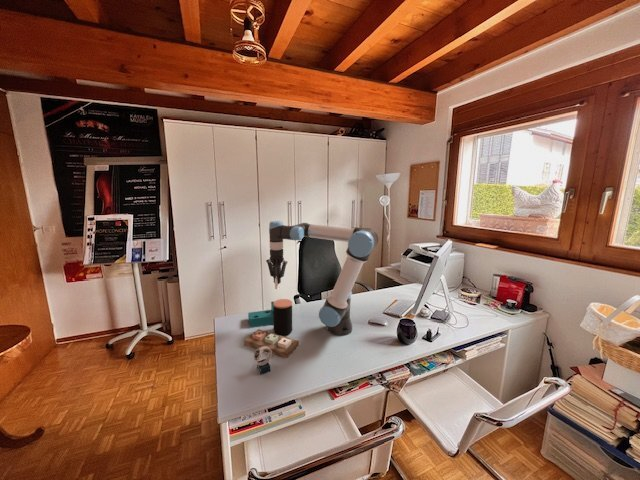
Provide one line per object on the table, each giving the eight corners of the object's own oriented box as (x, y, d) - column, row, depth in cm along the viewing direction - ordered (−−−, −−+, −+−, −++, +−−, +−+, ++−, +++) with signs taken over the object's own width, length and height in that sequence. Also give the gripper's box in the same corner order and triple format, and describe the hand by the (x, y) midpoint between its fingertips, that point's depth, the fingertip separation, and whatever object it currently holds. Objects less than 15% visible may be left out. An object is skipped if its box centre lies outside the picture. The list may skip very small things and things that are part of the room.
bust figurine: (252, 369, 119) (252, 347, 117) (269, 363, 124) (269, 342, 122) (257, 376, 115) (256, 354, 113) (274, 370, 119) (273, 348, 117)
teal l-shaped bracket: (277, 316, 170) (276, 301, 169) (280, 323, 160) (279, 306, 159) (248, 320, 165) (248, 304, 164) (249, 327, 154) (249, 310, 153)
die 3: (291, 346, 135) (291, 339, 135) (286, 352, 131) (286, 344, 130) (283, 344, 137) (283, 337, 137) (277, 349, 133) (277, 341, 132)
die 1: (265, 339, 142) (265, 331, 141) (260, 344, 137) (260, 336, 137) (258, 336, 144) (258, 329, 143) (252, 341, 139) (252, 334, 139)
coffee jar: (295, 329, 154) (295, 301, 150) (285, 338, 144) (285, 308, 141) (280, 325, 158) (280, 297, 154) (269, 334, 148) (269, 304, 145)
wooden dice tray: (299, 345, 138) (299, 340, 137) (286, 359, 127) (286, 353, 126) (258, 334, 148) (258, 329, 148) (244, 345, 138) (244, 340, 137)
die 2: (278, 342, 139) (278, 335, 138) (272, 347, 134) (272, 340, 133) (270, 340, 141) (270, 333, 140) (264, 345, 136) (264, 337, 135)
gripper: (289, 248, 148) (290, 287, 153) (270, 246, 153) (271, 284, 158) (283, 251, 141) (283, 292, 146) (262, 248, 146) (264, 288, 151)
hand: (277, 288), depth 152 cm, fingers closed
